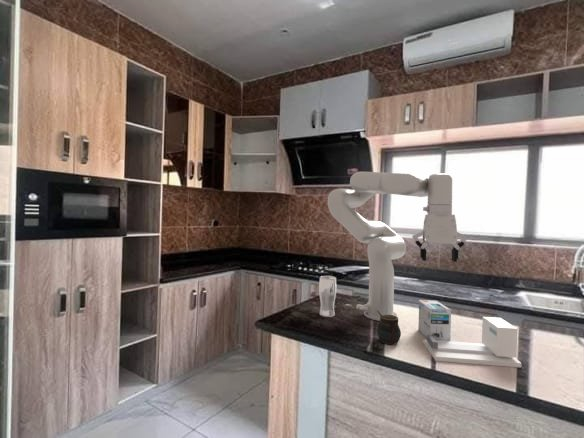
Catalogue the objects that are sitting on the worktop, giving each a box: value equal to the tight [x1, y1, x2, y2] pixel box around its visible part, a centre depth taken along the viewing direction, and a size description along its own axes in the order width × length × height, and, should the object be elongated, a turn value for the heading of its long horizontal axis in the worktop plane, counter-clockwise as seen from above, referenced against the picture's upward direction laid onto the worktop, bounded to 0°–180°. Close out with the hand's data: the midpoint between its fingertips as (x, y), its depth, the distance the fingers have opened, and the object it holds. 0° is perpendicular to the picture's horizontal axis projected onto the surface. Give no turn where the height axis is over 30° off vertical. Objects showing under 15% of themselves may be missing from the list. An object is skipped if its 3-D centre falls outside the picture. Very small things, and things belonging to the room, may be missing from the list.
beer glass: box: [318, 275, 338, 318], centre depth 126 cm, size 7×7×15 cm
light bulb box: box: [418, 299, 452, 341], centre depth 106 cm, size 11×7×11 cm, turn 179°
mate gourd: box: [376, 311, 402, 345], centre depth 100 cm, size 7×8×10 cm
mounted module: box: [481, 316, 518, 358], centre depth 91 cm, size 5×9×8 cm, turn 172°
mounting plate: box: [423, 335, 522, 368], centre depth 93 cm, size 22×12×4 cm, turn 82°
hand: (438, 260), depth 107 cm, fingers open, 9 cm apart
